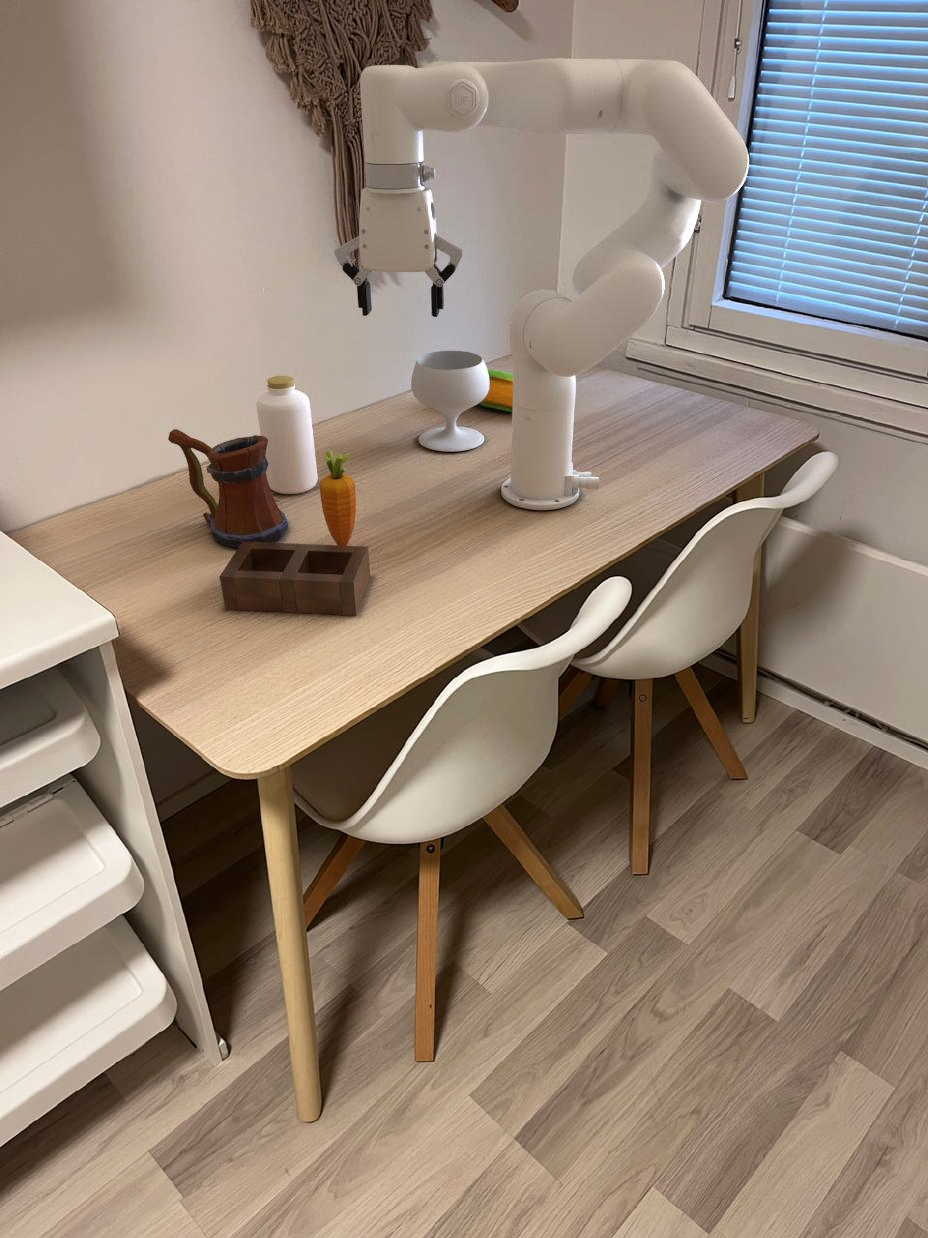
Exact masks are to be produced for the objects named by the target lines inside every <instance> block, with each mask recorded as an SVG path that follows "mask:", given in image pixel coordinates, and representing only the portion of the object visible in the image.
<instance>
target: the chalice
mask: <svg viewBox="0 0 928 1238" xmlns="http://www.w3.org/2000/svg"><path fill="white" fill-rule="evenodd" d="M418 357H419V358H417V359H416V362H415V364H414V367H413V370H412V372H411V373H412V374H411V380H410V388H411V391H412V394H413V396H414V398H415V399H416V400H417V401H418V402H419V403H421V404H422V405H424V406H425V407H427V408H430V409H432V410H434V411H436V412H438V413H439V414H441V415H442V416H443V418H444V420H445V426H439V427H435V428H431V429H428V430H426V431H424V432H423V433H422V434H421V435H420V436H418V443H419V444H420V445H421V446H423V447H424V448H426V449H428V450H434V451H438V452H463V451H467V450H471V449H474V448H478V447H479V446H481V445H482V444H483V443H484V442H485V436H484V435H483V434H482V433H481V432H480V431H478V430H476V429H473V428H470V427H466V426H458V425H457V420H458V418H459V416H460V415H461V414H462V413H464V412H466V411H467V410H469V409H471V408H473V407H475V406H477V405H479V404H478V403H480V402H481V401H482V400H483V399H484V398H485V397H486V395H487V394H488V391H489V382H490V381H489V374H488V370H487V369H488V368H487V365H486V363H485V360H484V359H483V358H482V356H481V355H479V354H477V353H474V352H470V351H464V350H439V351H432V352H429V353H425V354H423V355H421V356H418Z"/></svg>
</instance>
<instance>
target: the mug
mask: <svg viewBox="0 0 928 1238" xmlns="http://www.w3.org/2000/svg"><path fill="white" fill-rule="evenodd" d="M167 440H168V441H169V442H170V443H171V444H173V445H177V446H178V447H179V448H180V449H181V451H182V452H183V455H184V457H185V459H186V464H187V468H188V475H189V476H188V477H189V478H188V479H189V484H190V487H191V489H192V491H193V492H194V494H195V495H196V496H197V497H199V498H200V499H201V500H203V501H204V503H205V504H206V505H207V507H208V509H209V512H210V513H209V512H206V511H205V512H204V513H203V514H202V516H203V518H204V520H205V522H206V523H208V524H209V527H210V530H211V534H212V536H213V538H214V540H215V541H216V542H218V543H219V544H222V545H225V546H227V547H232V548H235V549H238V548H239V546H240V545H241V543H242V542H267V543H276V542H277V541H280V540H281V539H282V538H283V536H284V535H285V533H286V532H287V531H288V529H289V521H288V519H287V516H286V514H285V512H284V511H283V510H281V509H280V507H279V505H278V504H277V502H276V500H275V498H274V496H273V494H272V492H271V488H270V487H269V484H268V480H267V476H266V470H267V468H268V464H269V463H268V461H267V459H266V449H267V444H268V439H267V437H264V436H261V435H259V434H254V435H251V436H242V437H236V438H233V439H229V440H226V441H223V442H221V443H219V444H216V445H215V446H213V447H211V446H209V445H208V444H207V443H205V442H204V441H201V440H199V439H197V438H194V437H192V436H190V435H188V434H186V433H185V432H183V431H182V430H180V429H178V428H174V429H172V430H171V431H169V433H168V438H167ZM192 449H193V450H195V451H198V452H200V453H202V454H203V455H205V457H206V458H207V459H208V461H209V463H210V464H208V465H206V472H207V474H210V476H211V478H212V479H213V480H214V481H215V482H216V483H217V484H218V485H217V486H218V502H217V501H216V500H215V498H214V497H213V496H212V494H211V493H210V492H209V491H208V490H207V488H206V486H205V483H204V482H205V480H204V474H203V469H202V465H201V463H200V460H199V458H198V457H197V455H196V454H195V452H194V451H193V450H192Z"/></svg>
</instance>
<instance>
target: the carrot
mask: <svg viewBox="0 0 928 1238" xmlns="http://www.w3.org/2000/svg"><path fill="white" fill-rule="evenodd" d="M325 453H326V457H327V458H326V459H325V461H326V466H327V469H328V471H329V472H330V474H326V475H325V476H324V477H323V478H322V479H321V480H320V481H319V484H318V485H319V486H318V487H319V495H320V502H321V508H322V513H323V517H324V520H325V523H326V526H327V529H328V532H329V534H330V536H331V537H332V539H333V541H334V543H336V544H335V545H340V546H348V544H349V542H350V540H351V538H352V534H353V532H354V528H355V522H356V513H357V496H356V494H357V493H356V482H355V480H354V479H353V478H351V476H350V475H348V474H346V473H345V472H346V470H347V469H346V468H345V467H343V465H344V463H345V461H346V460H347V459H348V458H349V457H350V455H349V454H344V455H342V454H339V453H338V454H336V457H335V459H334V455H333V451H332V450H327V452H325Z"/></svg>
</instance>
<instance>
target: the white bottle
mask: <svg viewBox="0 0 928 1238" xmlns="http://www.w3.org/2000/svg"><path fill="white" fill-rule="evenodd" d="M266 382H267V385H266V389H267V391H266V392H265V393H263V394H262V395H260V396H259V398H257V401H256V411H257V418H258V425H259V433H260V434H259V435H260V436H264V437H267V439H268V444H267V449H266V459H267V461H268V463H269V464H268V468H267V470H266V476H267V480H268V484H269V488H270V490H271V491H273V492H275V493H278V494H283V495H295V494H296V495H297V494H301V493H305V492H308V491H310V490H312V489H313V488H314V487H315V486H316V485H317V482H318V480H319V477H318V476H319V475H318V468H317V458H316V448H315V439H314V431H313V421H312V411H311V402H310V399H309V397H308V395H307V394H306V393H305V392H302V391H301V390H298V389H295V388H296V384H295V382H294V377H292V376H290V375H275V376H271V377H269V378H268V379H267V380H266Z"/></svg>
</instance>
